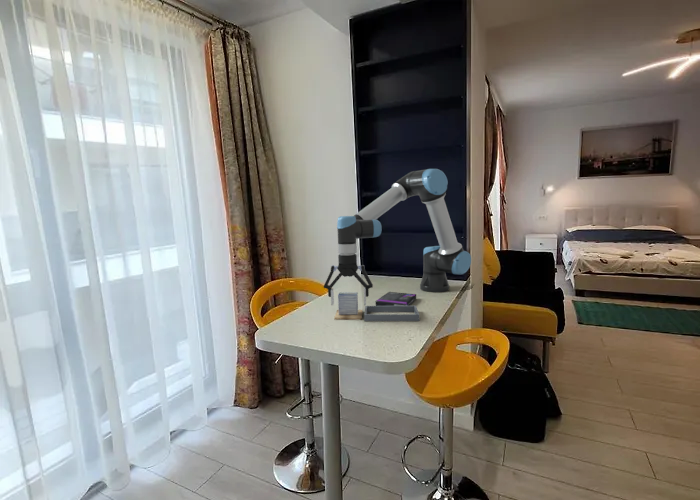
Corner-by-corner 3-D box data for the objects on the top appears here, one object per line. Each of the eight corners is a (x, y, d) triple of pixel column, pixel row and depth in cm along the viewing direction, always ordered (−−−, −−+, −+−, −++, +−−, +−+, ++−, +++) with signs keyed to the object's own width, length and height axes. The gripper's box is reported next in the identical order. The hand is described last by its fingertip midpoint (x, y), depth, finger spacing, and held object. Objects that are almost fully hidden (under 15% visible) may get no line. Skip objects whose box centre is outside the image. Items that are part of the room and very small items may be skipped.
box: (405, 312, 158) (416, 300, 176) (405, 304, 158) (416, 293, 175) (375, 308, 164) (389, 297, 182) (375, 301, 164) (389, 290, 181)
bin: (415, 311, 156) (415, 305, 156) (419, 321, 143) (419, 314, 143) (365, 311, 157) (365, 305, 157) (364, 321, 145) (364, 314, 144)
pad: (362, 311, 158) (362, 309, 157) (361, 319, 147) (361, 317, 147) (337, 311, 158) (337, 309, 158) (334, 319, 147) (334, 317, 147)
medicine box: (358, 311, 154) (357, 291, 153) (357, 315, 150) (357, 294, 149) (339, 312, 155) (339, 292, 154) (338, 315, 150) (337, 294, 149)
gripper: (377, 252, 152) (378, 301, 155) (318, 253, 154) (320, 302, 157) (378, 254, 145) (378, 306, 147) (315, 255, 146) (317, 306, 149)
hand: (348, 304), depth 152 cm, fingers open, 13 cm apart
